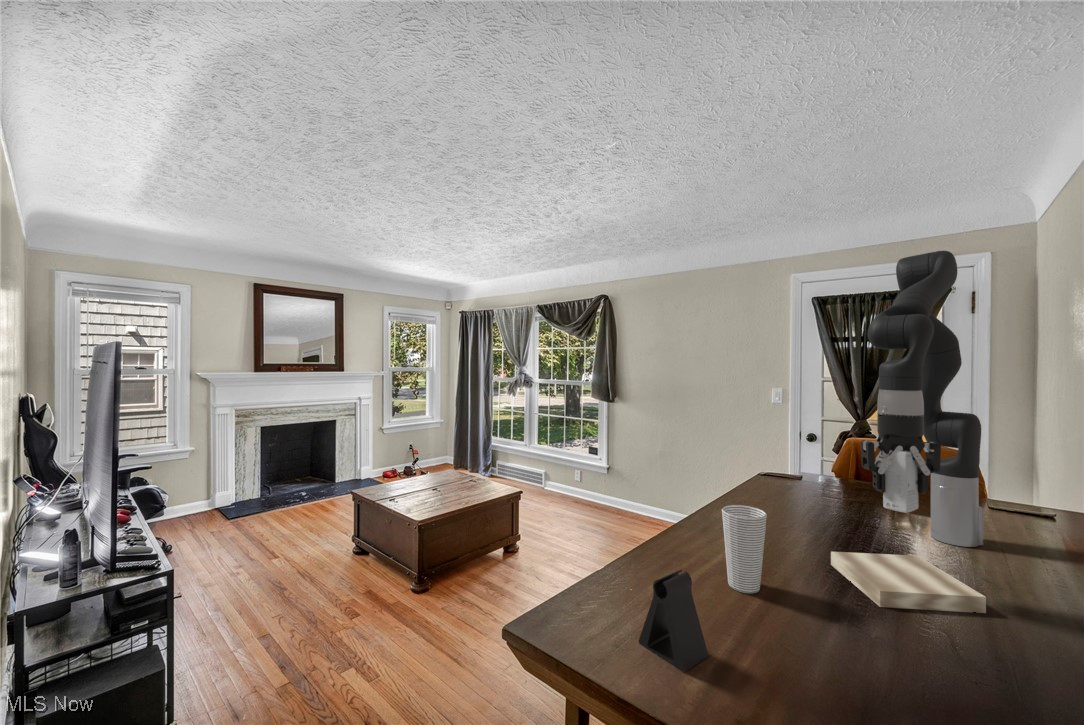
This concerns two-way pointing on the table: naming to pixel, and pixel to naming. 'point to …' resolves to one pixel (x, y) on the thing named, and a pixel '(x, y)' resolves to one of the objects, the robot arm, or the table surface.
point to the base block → (907, 582)
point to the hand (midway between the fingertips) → (900, 491)
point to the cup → (744, 546)
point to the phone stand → (674, 623)
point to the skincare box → (901, 483)
